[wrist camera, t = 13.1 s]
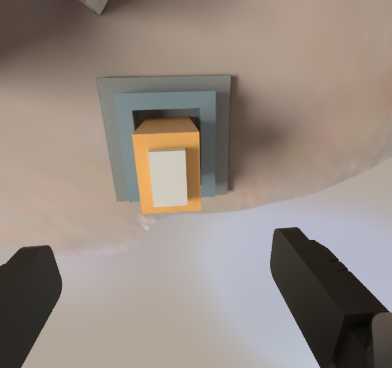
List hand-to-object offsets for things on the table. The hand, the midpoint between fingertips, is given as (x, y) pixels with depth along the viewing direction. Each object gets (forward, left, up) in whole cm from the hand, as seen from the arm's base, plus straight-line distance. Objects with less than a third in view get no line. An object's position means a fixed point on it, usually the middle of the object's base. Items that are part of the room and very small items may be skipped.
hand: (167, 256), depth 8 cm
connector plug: (0, 0, -20) cm, 20 cm away
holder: (0, 0, -21) cm, 21 cm away
